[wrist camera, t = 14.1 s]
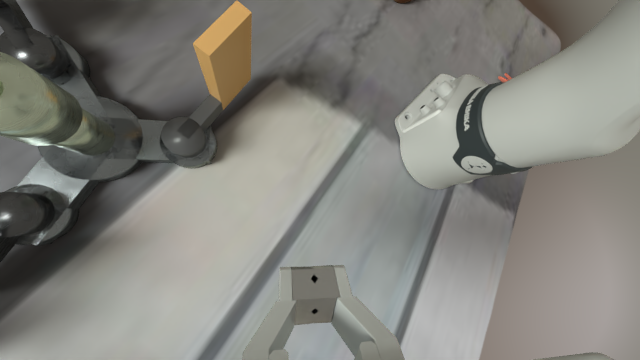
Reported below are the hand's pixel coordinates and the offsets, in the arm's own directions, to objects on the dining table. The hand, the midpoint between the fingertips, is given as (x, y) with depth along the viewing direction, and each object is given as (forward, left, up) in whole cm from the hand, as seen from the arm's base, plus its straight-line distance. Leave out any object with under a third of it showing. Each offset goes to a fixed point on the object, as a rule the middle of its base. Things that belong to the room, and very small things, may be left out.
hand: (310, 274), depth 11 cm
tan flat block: (-8, -15, -22) cm, 28 cm away
